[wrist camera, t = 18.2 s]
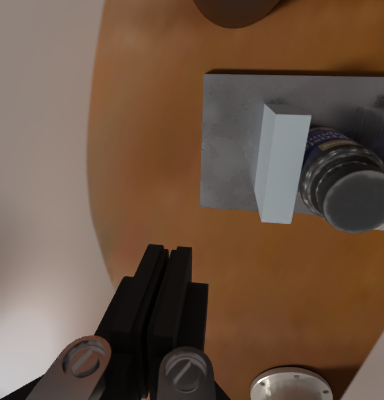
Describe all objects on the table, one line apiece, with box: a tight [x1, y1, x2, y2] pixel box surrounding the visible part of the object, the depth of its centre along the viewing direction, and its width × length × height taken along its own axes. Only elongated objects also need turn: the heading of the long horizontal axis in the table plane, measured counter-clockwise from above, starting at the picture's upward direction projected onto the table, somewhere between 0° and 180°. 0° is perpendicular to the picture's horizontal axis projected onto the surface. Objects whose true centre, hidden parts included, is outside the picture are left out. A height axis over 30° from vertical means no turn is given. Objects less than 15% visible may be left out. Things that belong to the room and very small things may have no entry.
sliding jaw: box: [254, 104, 312, 224], centre depth 25 cm, size 9×2×7 cm, turn 179°
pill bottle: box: [297, 126, 384, 233], centre depth 23 cm, size 6×6×11 cm
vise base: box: [200, 74, 384, 230], centre depth 25 cm, size 14×19×8 cm
